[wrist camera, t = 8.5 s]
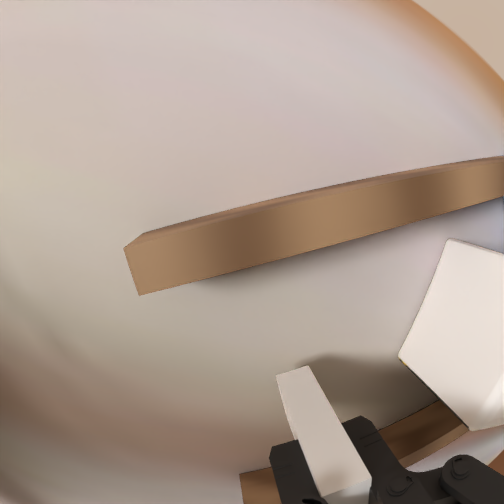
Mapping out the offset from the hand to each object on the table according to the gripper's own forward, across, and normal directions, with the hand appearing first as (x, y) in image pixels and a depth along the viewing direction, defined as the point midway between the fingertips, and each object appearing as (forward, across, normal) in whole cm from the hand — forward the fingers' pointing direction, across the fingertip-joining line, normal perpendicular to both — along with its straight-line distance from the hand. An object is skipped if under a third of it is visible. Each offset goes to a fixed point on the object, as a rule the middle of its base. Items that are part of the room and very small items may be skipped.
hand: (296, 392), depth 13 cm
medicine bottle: (+2, +11, 0) cm, 11 cm away
